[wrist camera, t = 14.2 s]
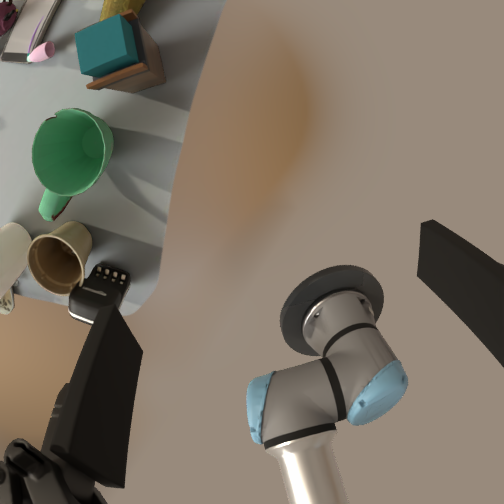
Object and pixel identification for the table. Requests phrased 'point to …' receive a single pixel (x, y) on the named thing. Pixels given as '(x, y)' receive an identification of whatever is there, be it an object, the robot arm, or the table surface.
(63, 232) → the flower pot
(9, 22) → the figurine
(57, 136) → the mug
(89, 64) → the teal cube
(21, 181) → the table surface
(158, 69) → the wooden tower block
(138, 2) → the ocarina
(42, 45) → the earplug
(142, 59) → the base
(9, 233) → the cup
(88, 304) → the battery charger
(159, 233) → the table surface
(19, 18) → the smartphone
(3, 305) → the salad plate
